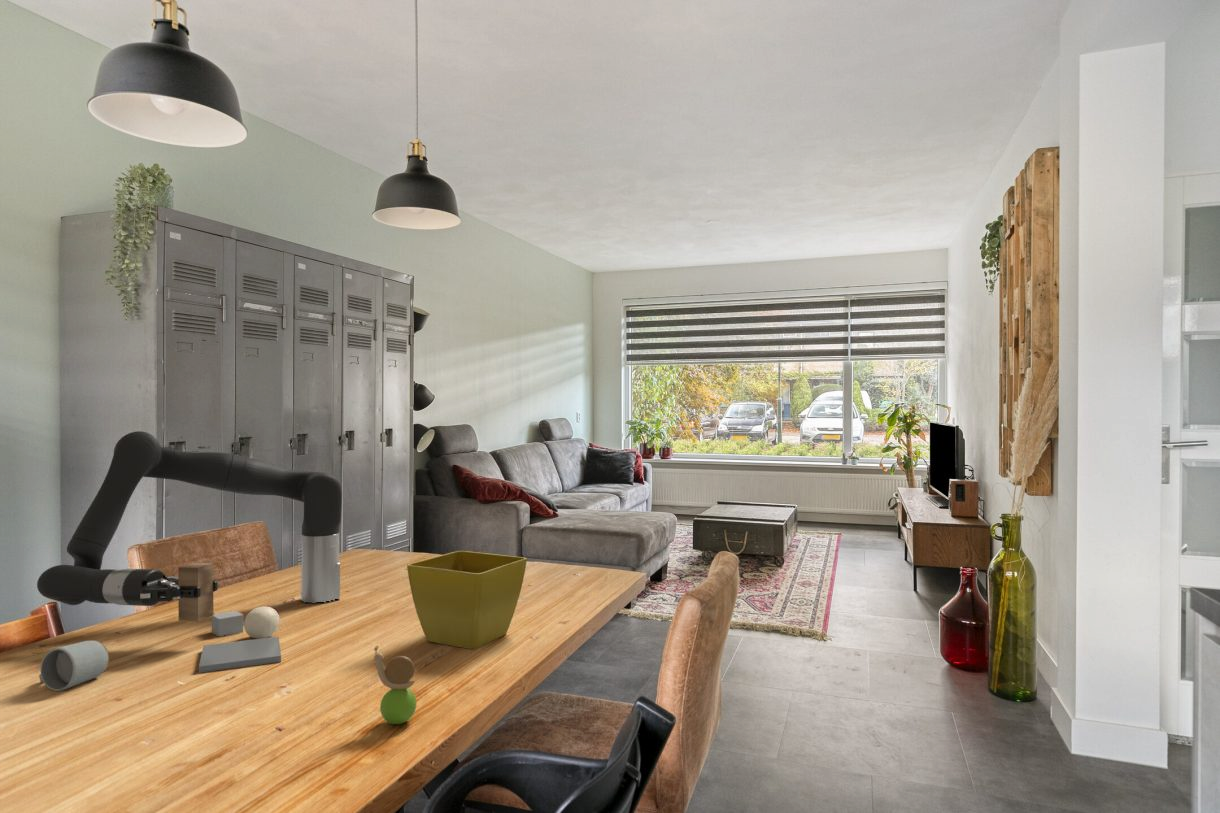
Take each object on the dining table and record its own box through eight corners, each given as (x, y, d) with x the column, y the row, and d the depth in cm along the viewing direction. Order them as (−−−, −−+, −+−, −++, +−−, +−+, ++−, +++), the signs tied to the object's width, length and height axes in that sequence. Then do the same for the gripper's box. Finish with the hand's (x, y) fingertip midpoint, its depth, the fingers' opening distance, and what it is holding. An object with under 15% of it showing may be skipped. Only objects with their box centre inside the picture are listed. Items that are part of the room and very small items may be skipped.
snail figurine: (378, 716, 116) (378, 641, 116) (419, 715, 116) (419, 640, 116) (369, 731, 110) (370, 652, 110) (412, 729, 111) (412, 650, 111)
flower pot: (528, 631, 162) (528, 556, 162) (478, 657, 144) (479, 573, 145) (459, 621, 170) (459, 550, 170) (404, 644, 152) (404, 564, 153)
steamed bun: (286, 633, 160) (286, 603, 160) (267, 643, 153) (268, 611, 153) (257, 632, 161) (258, 602, 161) (237, 642, 154) (238, 610, 154)
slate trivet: (278, 642, 154) (278, 636, 154) (281, 661, 141) (281, 655, 141) (203, 651, 148) (203, 645, 148) (198, 672, 135) (198, 666, 135)
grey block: (235, 628, 165) (235, 610, 165) (243, 632, 161) (243, 614, 161) (211, 632, 161) (211, 614, 161) (218, 637, 158) (218, 619, 158)
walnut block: (194, 614, 153) (193, 562, 153) (213, 615, 153) (213, 563, 153) (178, 620, 149) (178, 567, 149) (198, 621, 148) (197, 567, 148)
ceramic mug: (112, 676, 133) (112, 636, 133) (73, 692, 125) (73, 649, 126) (66, 674, 135) (66, 634, 135) (24, 689, 127) (24, 647, 127)
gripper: (106, 577, 146) (182, 579, 143) (160, 562, 160) (230, 563, 157) (106, 614, 146) (183, 616, 143) (160, 596, 160) (231, 598, 157)
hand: (207, 589), depth 150 cm, fingers closed on walnut block, 4 cm apart
